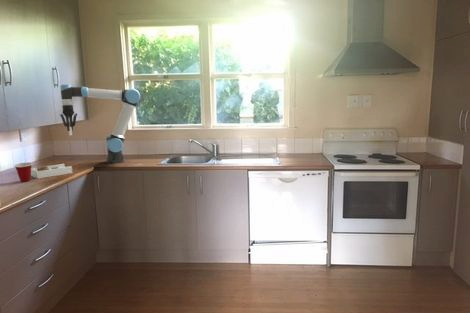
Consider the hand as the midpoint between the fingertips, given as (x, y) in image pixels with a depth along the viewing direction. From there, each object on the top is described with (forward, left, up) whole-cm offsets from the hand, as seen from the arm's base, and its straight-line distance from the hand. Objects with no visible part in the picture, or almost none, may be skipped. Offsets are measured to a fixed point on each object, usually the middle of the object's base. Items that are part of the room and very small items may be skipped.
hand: (70, 135), depth 282 cm
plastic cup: (+40, +20, -27) cm, 52 cm away
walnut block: (+27, +13, -23) cm, 38 cm away
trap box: (+20, +10, -26) cm, 35 cm away
